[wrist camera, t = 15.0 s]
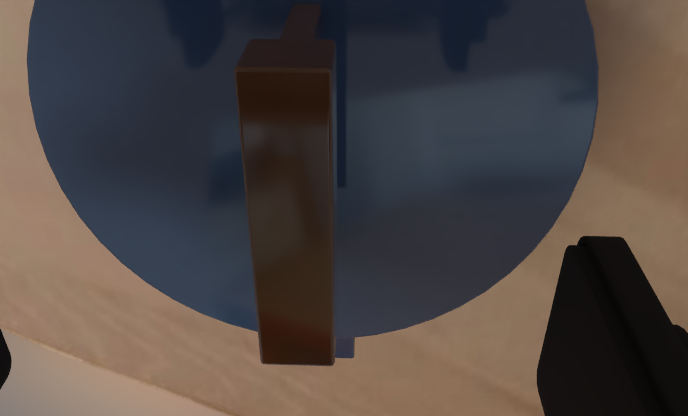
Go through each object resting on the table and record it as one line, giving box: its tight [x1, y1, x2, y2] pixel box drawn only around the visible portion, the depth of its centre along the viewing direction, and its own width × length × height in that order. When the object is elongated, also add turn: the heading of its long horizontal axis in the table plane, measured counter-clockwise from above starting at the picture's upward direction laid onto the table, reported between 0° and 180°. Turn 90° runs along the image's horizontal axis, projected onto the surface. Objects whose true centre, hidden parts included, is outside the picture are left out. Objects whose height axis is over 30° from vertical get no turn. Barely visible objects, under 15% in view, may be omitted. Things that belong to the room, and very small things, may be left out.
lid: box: [27, 0, 599, 366], centre depth 15 cm, size 15×15×6 cm
